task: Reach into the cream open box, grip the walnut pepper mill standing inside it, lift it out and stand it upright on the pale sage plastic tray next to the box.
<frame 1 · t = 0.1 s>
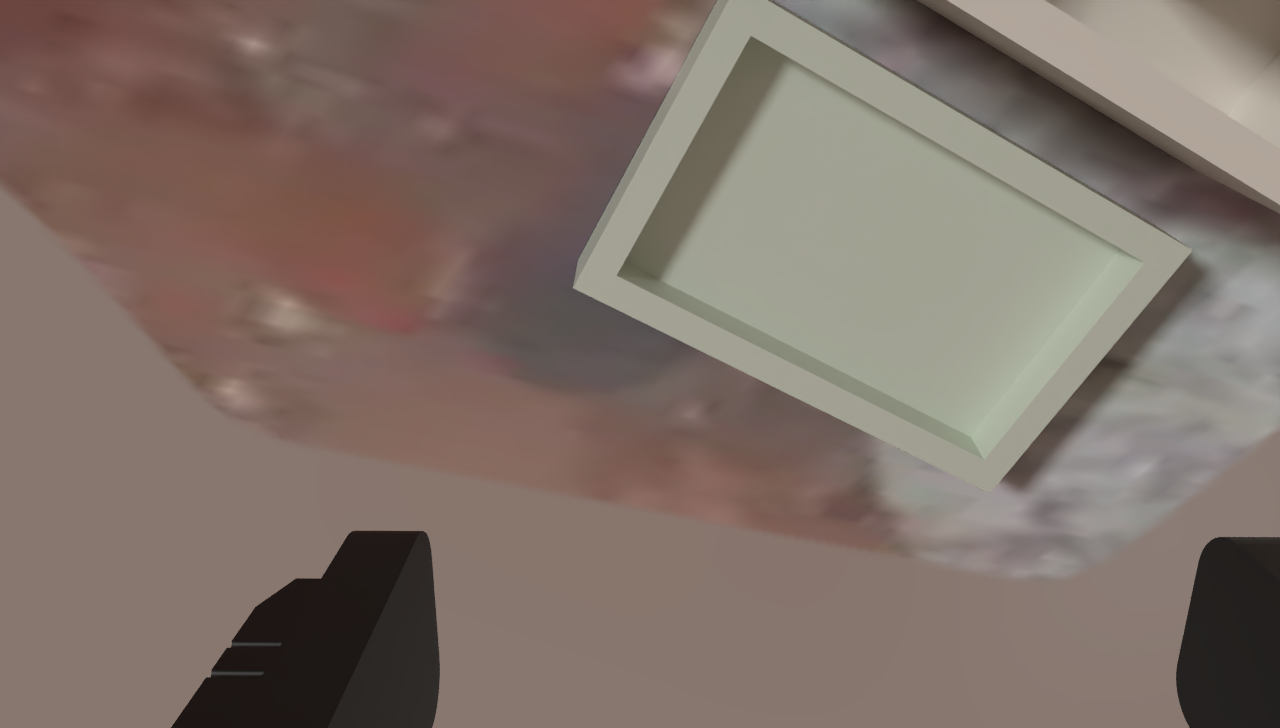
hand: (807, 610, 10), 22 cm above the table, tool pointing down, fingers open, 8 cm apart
sage tray: (862, 242, 32), on the table
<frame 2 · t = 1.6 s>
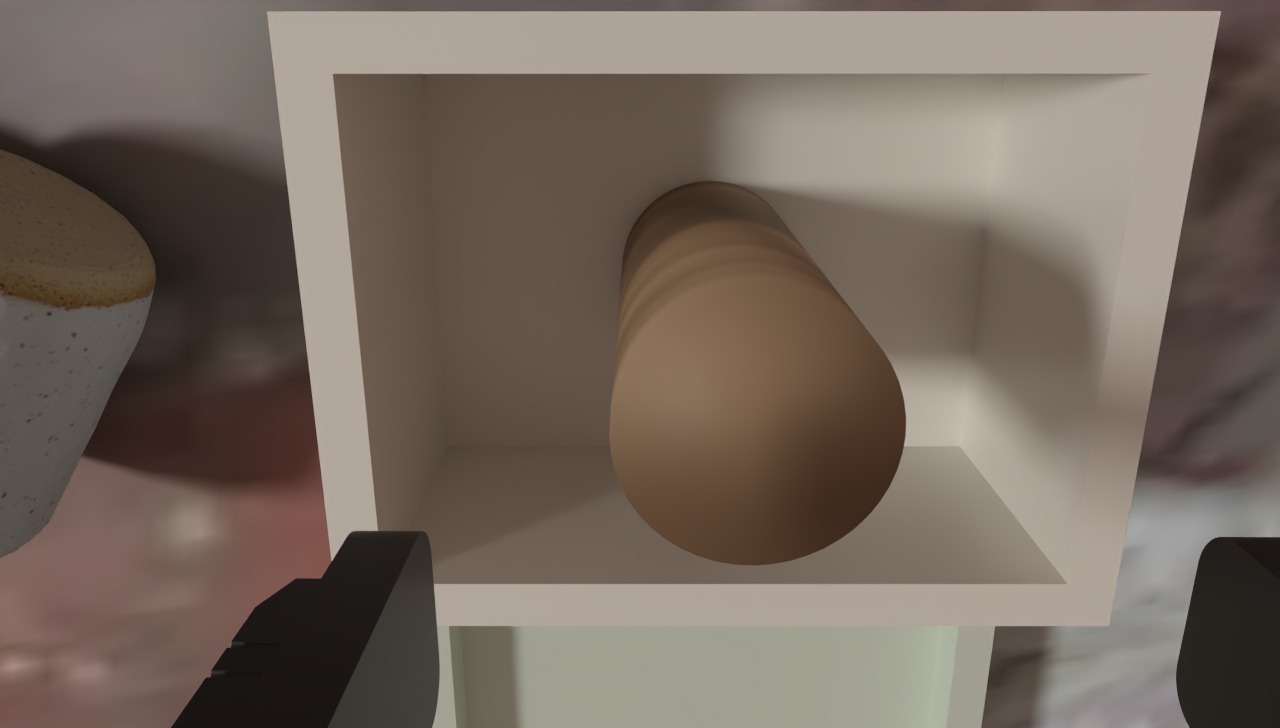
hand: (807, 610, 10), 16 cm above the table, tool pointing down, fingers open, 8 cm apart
walnut pepper mill: (708, 267, 25), point 1 cm above the table, touching cream open box
cream open box: (705, 258, 26), on the table
sage tray: (696, 670, 30), on the table
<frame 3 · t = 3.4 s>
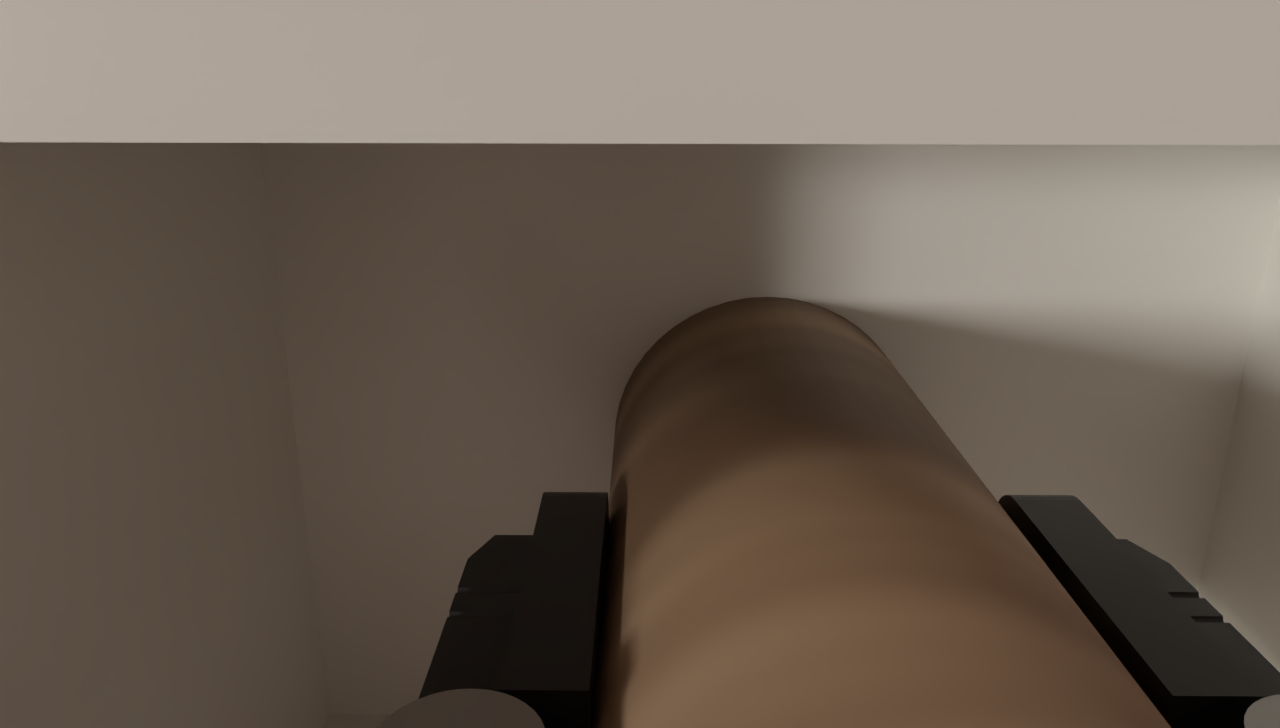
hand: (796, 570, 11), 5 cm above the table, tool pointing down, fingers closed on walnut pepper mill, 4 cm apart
walnut pepper mill: (761, 439, 14), point 1 cm above the table, touching cream open box, gripper
cream open box: (753, 415, 15), on the table
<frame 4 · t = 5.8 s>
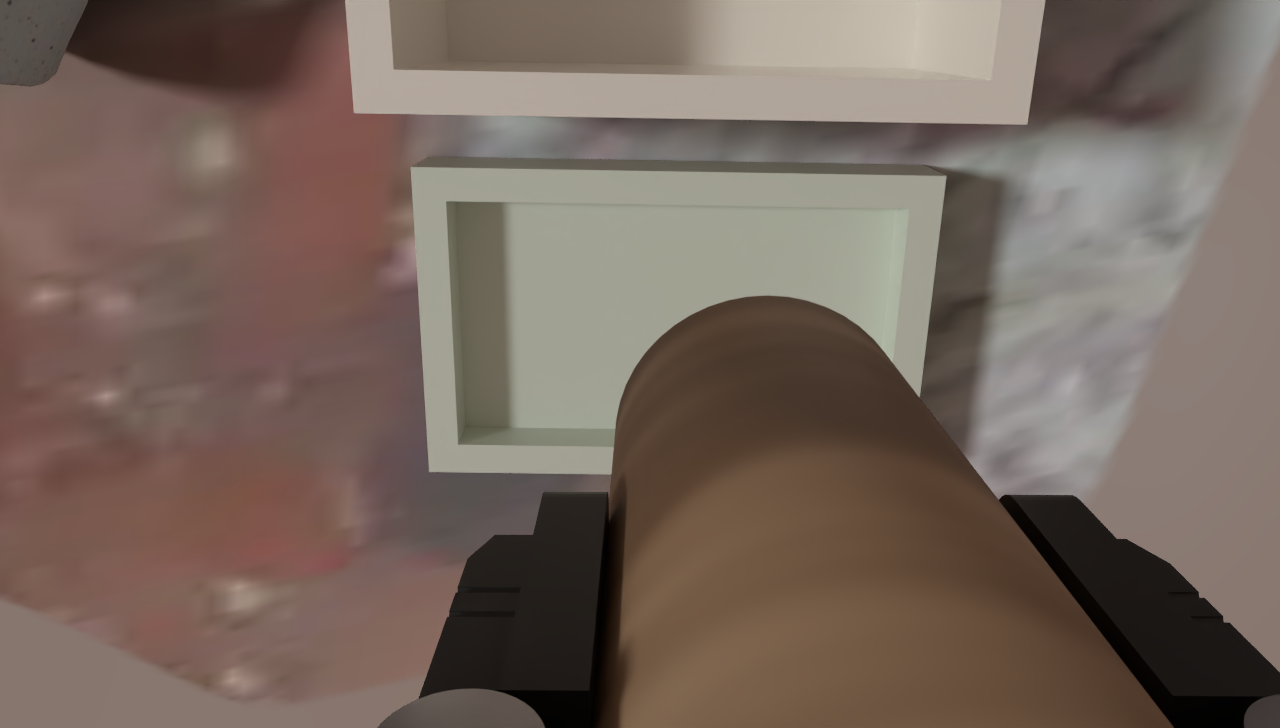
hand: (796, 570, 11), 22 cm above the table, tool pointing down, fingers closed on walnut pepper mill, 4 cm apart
walnut pepper mill: (761, 437, 14), point 18 cm above the table, touching gripper
sage tray: (671, 309, 33), on the table
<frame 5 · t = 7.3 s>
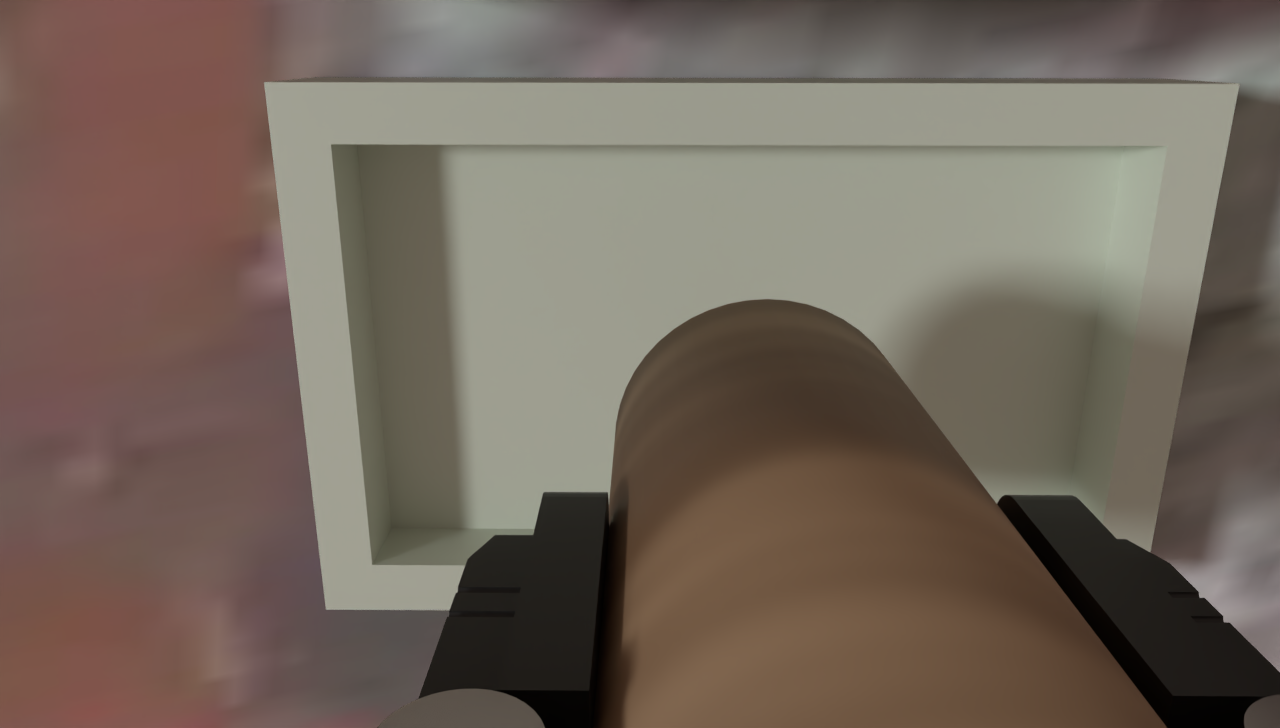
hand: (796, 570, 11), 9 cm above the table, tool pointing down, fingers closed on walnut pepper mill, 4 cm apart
walnut pepper mill: (761, 441, 14), point 6 cm above the table, touching gripper
sage tray: (728, 332, 20), on the table
when the fingers open (6 cm above the table, at t = 8.5 s): walnut pepper mill stays where it is, resting on sage tray.
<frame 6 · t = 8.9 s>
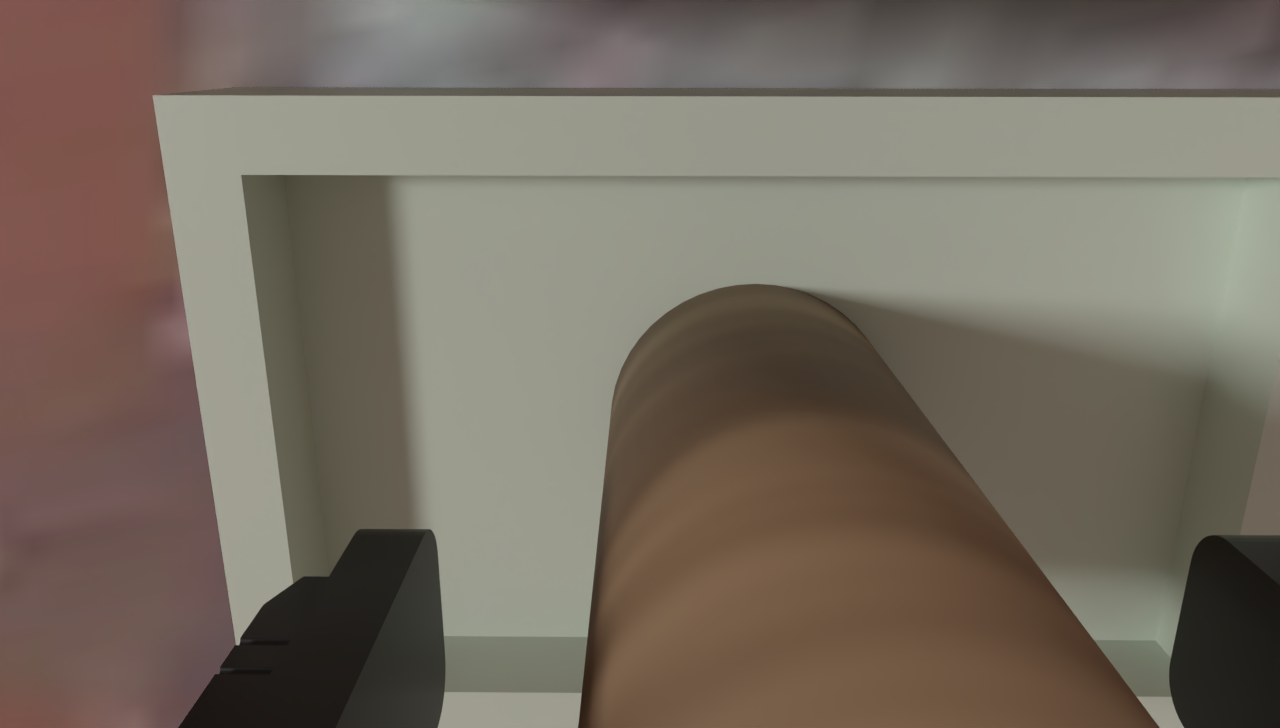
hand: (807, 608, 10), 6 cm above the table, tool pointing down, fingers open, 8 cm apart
walnut pepper mill: (750, 419, 15), point 1 cm above the table, touching sage tray
sage tray: (747, 398, 16), on the table
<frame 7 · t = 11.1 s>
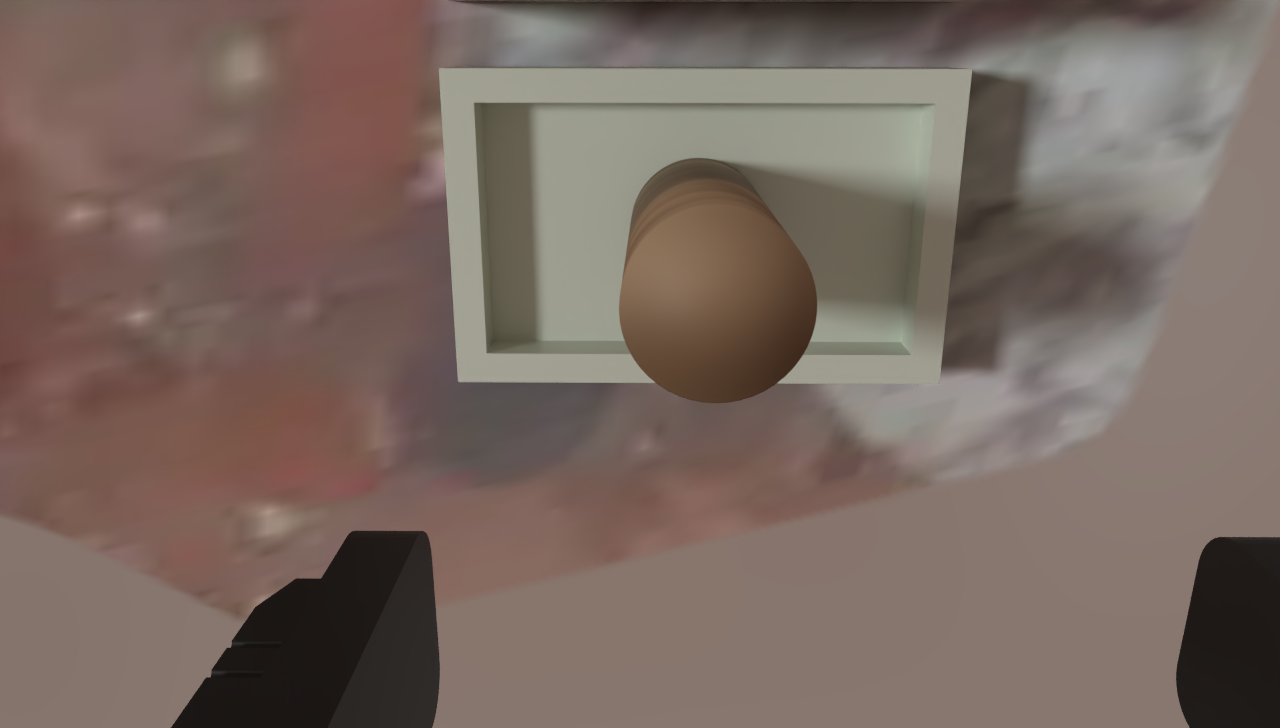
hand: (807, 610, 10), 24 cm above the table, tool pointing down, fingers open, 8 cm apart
walnut pepper mill: (697, 225, 32), point 1 cm above the table, touching sage tray
sage tray: (697, 220, 33), on the table
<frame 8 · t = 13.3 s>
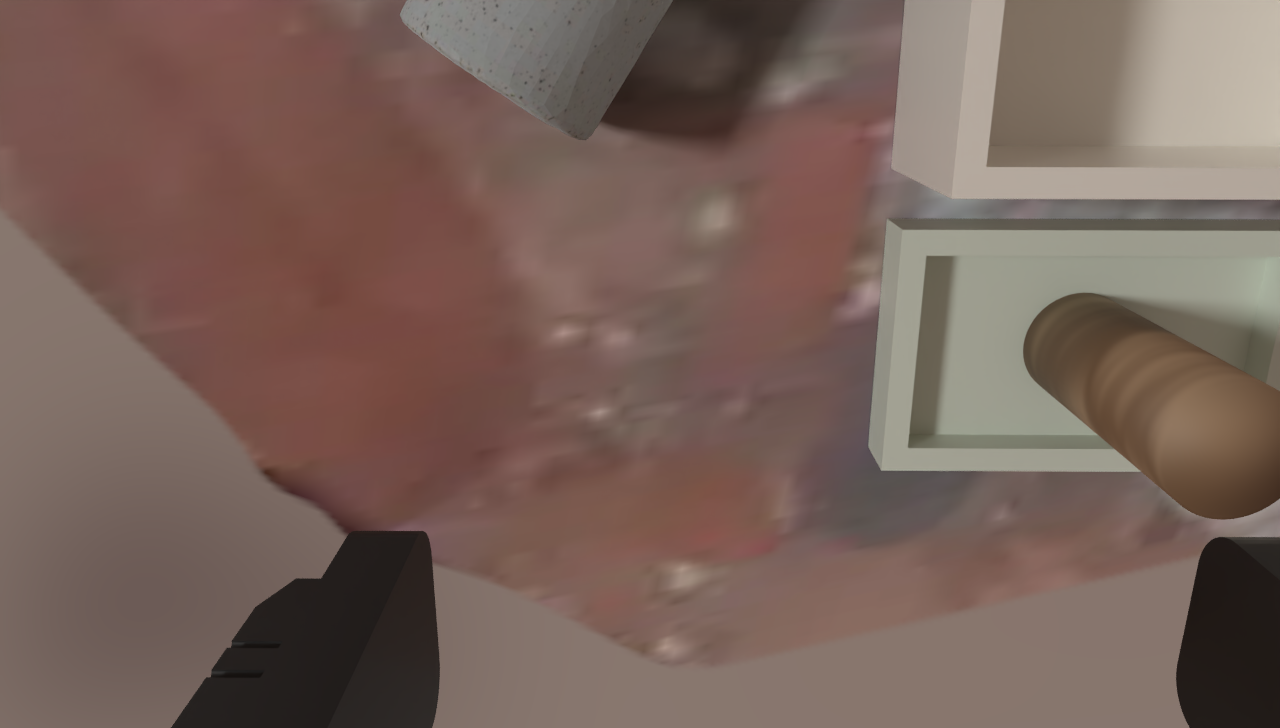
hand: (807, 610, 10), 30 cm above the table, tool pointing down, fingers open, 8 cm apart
walnut pepper mill: (1076, 344, 39), point 1 cm above the table, touching sage tray
cream open box: (1116, 8, 36), on the table
sage tray: (1067, 337, 40), on the table
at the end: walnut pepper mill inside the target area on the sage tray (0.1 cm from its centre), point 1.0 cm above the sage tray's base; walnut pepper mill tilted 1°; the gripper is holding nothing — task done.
